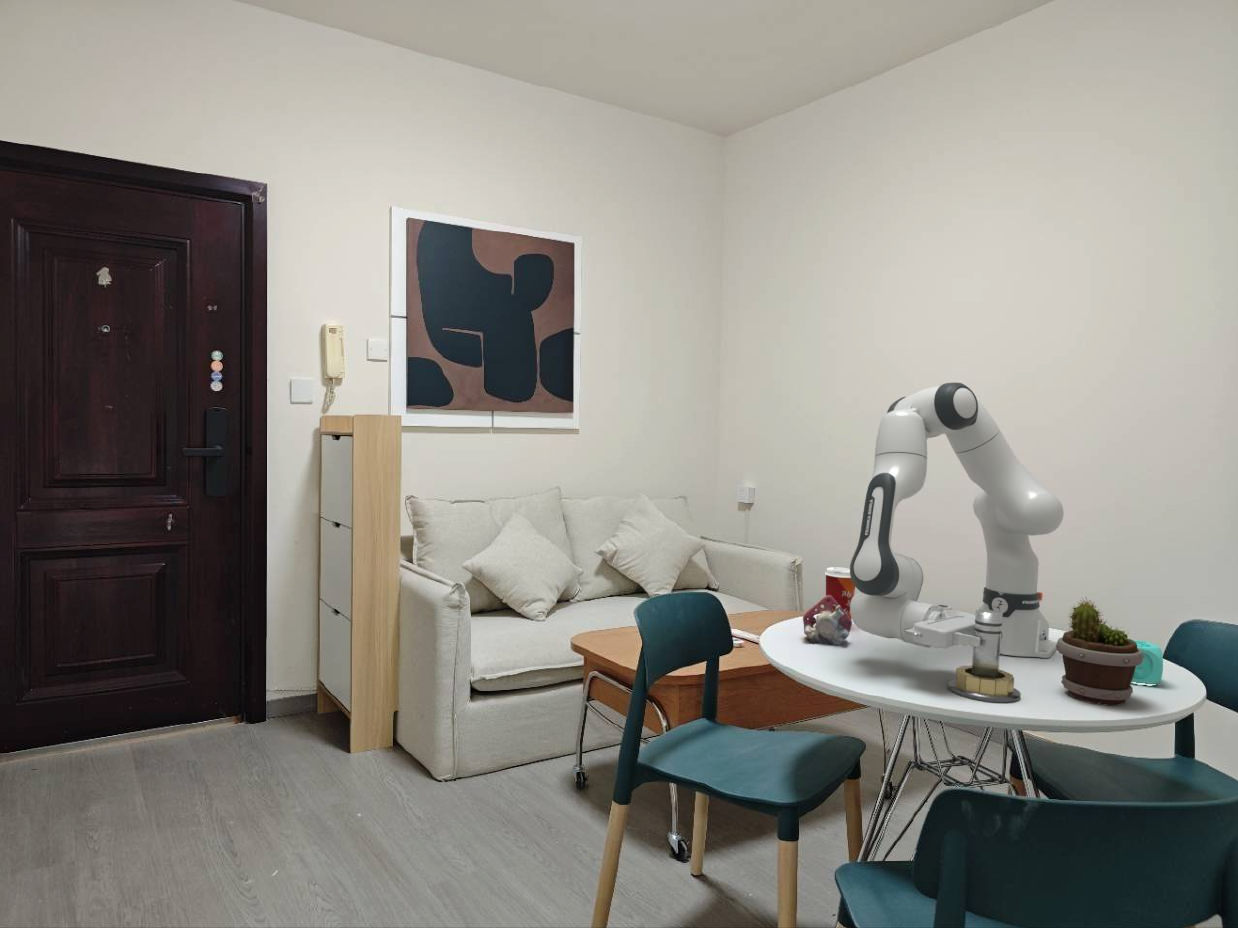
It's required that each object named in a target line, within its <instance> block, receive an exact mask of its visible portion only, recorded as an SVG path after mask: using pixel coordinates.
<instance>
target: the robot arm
mask: <svg viewBox="0 0 1238 928" xmlns="http://www.w3.org/2000/svg"><path fill="white" fill-rule="evenodd" d="M879 423H880V424H879V428H878V430H877V436H876V440H875V448H874V450H875V451H874V465H873V472H872V477H871V480H870V482H869V483H868V485H867V486H868V487H867V491H866V495H865V500H864V506H863V513H862V520H861V525H860V526H861V527H860V533H859V539H858V543H857V546H856V549H855V551H854V553H853V555H852V558H851V560H850V565H849V569H850V576H851V580H852V582H853V584H854V585H855V589H857V590H858V591H859V592H857V593H856V594H854V596H853V598H852V600H851V604H850V614H851V618H852V619H851V621H852V622H853V624H854V625H855V626H856V627H857V628H858V629H860V630H862V631H864V632H866V633H868V634H871V635H874V636H878V637H880V638H885V639H897V640H901V641H902V642H904V643H907V644H911V645H914V646H920V647H924V648H936V649H948V648H951V647H955V646H957V645H958V646H970V647H971V646H972V647H973V646H975V647H978V646H981V645H982V641H983V639H982V637H980V636H975V635H974V627H975V615H976V614H973V613H969V612H966V611H963V610H962V611H961V610H957V609H953V607H952V605H951V606H950V605H947V604H946V605H945V604H933V603H928V602H923V601H918V600H919V597H920V593H921V590H922V586H923V584H924V583H923V582H924V573H923V569H922V567H921V565H920V564H919V563H918V562H917V560H915V559H914V558H912V557H909V556H908V555H907V556H906V555H904V554H900V553H897V552H894V551H893V548H892V544H891V543H892V542H891V541H892V533H893V527H894V519H895V512H896V509H897V506H898V505H899V504H900V502H902V501H903V500H906V499H909V498H912V497H913V496H915V495H916V494H918V493H919V492H920V491H921V489H922V488H924V484H925V483H926V477H927V471H928V469H927V468H928V443H927V442H928V439H931V438H932V439H933V438H936V437H939V436H941V435H945V436H946V438H947V441H948V442H949V444H950V446H951V448H952V450H953V452H954V454H955V455H956V457H957V459H958V460H959V462H960V464H961V466H962V468H963V470H964V471H965V473H966V474H967V476H968V477H969V479H970V481H972V482H973V483H974V484H976V485H977V486H978V487H979V488H980V490H978V492H977V493H976V495H975V496H974V499H973V504H972V508H973V512H974V515H975V517H976V518H977V520H979V522H980V526H981V530H982V534H983V539H984V543H985V549H986V575H985V586H984V587H983V591H982V602H983V603H982V605H981V606H980V607H978V608H977V609H976V610H979V609H983V610H993V611H998V612H1001V613H1003V616H1002V633H1001V644H1000V655H1005V656H1013V657H1028V658H1029V657H1032V658H1043V659H1049V658H1051V656H1052V655H1053V654H1054V653H1055V652H1056V651H1058V650H1057V647H1056V644H1057V641H1056V642H1055V641H1053V640H1049V634H1050V632H1049V631H1050V625H1049V621H1047V619H1046V617H1045V616H1044V615H1043V614H1042V612H1041V610H1040V609H1039V608H1040V602H1041V601H1042V600H1043V597H1044V595H1043V593H1042V592H1041V591H1038V578H1039V577H1038V576H1039V565H1040V564H1039V563H1040V562H1039V558H1038V557H1037V554H1036V553H1035V552H1034V550H1033V548H1032V545H1031V542H1030V536H1031V537H1032V536H1042V535H1048V534H1051V533H1053V532H1054V531H1056V530H1058V528H1059V527H1060V525H1061V524H1062V522H1063V519H1064V512H1065V511H1064V507H1063V505H1062V502H1061V500H1060V499H1059V498H1058V497H1057V496H1055V494H1053V493H1052V492H1050V491H1049V490H1047V489H1046V488H1045V486H1043V485H1042V484H1041V483H1040V482H1039V481H1038V480H1037V479H1036V478H1035V477H1034V476H1033V475H1032V474H1031V472H1029V470H1028V469H1027V468H1026V467H1025V466H1024V465H1023V464H1022V462H1021V461H1020V460H1019V459H1018V457H1017V456H1016V455H1015V453H1014V451H1013V450H1012V448H1011V446H1010V445H1009V443H1008V441H1007V440H1006V438H1005V436H1004V435H1003V433H1002V431H1001V429H1000V428H999V426H998V424H997V423H996V421H995V419H994V418H993V416H992V415H991V414H990V413H989V411H988V410H987V408H985V406H984V405H983V404H982V403H981V402H980V401H979V400H978V399H977V396H976V395H975V393H974V392H973V390H972V389H970V387H968V386H967V385H965V384H964V383H962V382H946V383H942V384H940V385H935V386H930V387H927V388H923V389H921V390H919V391H917V392H915V393H911V394H909V395H908V396H903V397H900V398H899V399H897V400H895V401H894V402H893V403H891V404H890V406H889V407H888V408H887V412H886V413H885V414H884V416H883V417H882V418H881V419H880V422H879Z"/></svg>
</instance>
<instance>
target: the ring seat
mask: <svg viewBox="0 0 1238 928" xmlns="http://www.w3.org/2000/svg"><path fill="white" fill-rule="evenodd" d="M971 674H972V665H961V666H959V667H956V670H955V679H954V678H953V679H951V680H949V681H948V683H947V684H948V685H947V688H948V690H949V691H950V692H952V693H953V694H956V695H957V696H960V697H963V698H966V699H970V700H974V701H979V702H984V703H985V702H987V703H994V704H1011V703H1016V702H1018V701H1020V700H1021V695H1022V694H1021V692H1020V691H1019V690H1018V689H1017V688H1015V677H1014V676H1013V674H1012V673H1010V672H1007V671H1005V670H1001V669H999V673H998V679H991V678H983V677H978V676H974V675H971Z"/></svg>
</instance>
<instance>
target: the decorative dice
mask: <svg viewBox="0 0 1238 928" xmlns="http://www.w3.org/2000/svg"><path fill="white" fill-rule="evenodd" d="M1130 639H1131V638H1130ZM1131 640H1133V641H1134V642H1136V644H1137V648H1139V649H1140V650H1141V651H1142V652H1143V655H1144V658H1143V662H1142V663H1141V664H1140V665H1137V666H1136V668H1135V672H1134V676H1133V679H1132V681H1131V682H1136V683H1145V684H1157V683H1158V684H1160V683H1161V680H1162V677H1163V670H1164V658H1163V657H1164V656H1163V652H1162V648H1161V647H1160V646H1159V645H1158V644H1155V643H1153V642H1150V641H1146V640H1140V639H1133V638H1132V639H1131ZM1158 684H1157V685H1158Z"/></svg>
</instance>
